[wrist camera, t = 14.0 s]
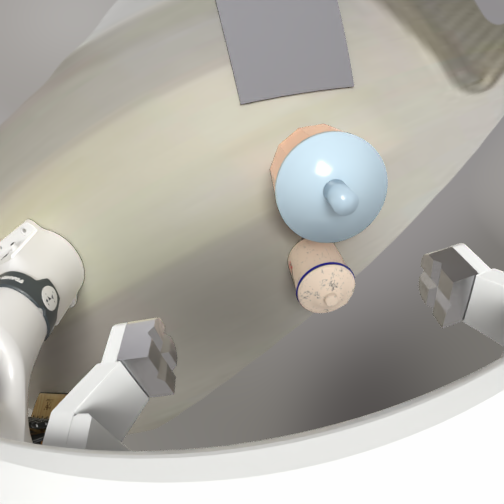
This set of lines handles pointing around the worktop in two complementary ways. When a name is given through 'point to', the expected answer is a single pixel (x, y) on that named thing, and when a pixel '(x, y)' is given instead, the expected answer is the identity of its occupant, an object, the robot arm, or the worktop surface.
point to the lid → (331, 186)
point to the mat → (285, 46)
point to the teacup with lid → (320, 276)
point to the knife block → (42, 415)
